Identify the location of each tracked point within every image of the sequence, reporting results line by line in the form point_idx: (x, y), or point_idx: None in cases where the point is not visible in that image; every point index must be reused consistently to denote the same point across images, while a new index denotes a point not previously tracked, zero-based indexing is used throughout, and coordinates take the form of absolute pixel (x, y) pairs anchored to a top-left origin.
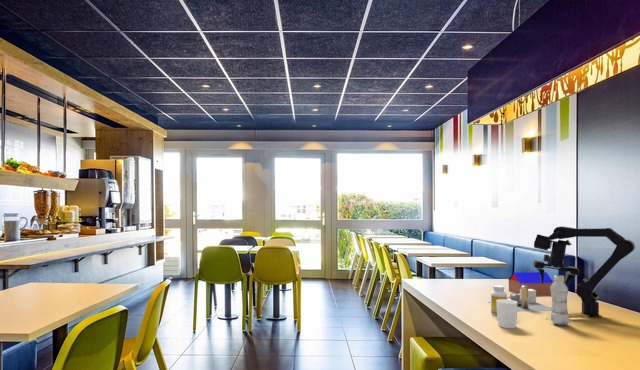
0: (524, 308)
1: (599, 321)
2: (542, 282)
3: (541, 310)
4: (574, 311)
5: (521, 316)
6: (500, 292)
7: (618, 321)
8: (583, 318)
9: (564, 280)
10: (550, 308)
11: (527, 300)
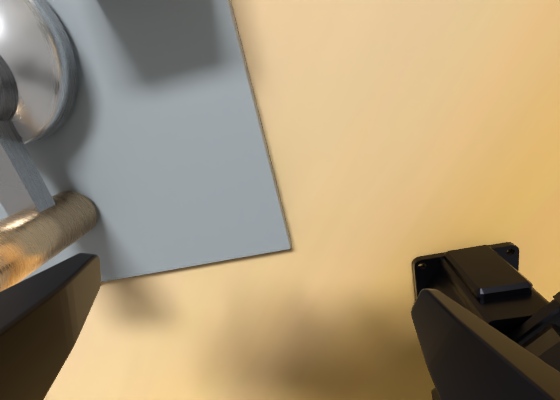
0: None
1: (421, 386)
2: (82, 305)
3: (174, 259)
4: (429, 188)
5: None
6: None
7: None
8: (373, 344)
9: (515, 390)
10: (257, 194)
11: (48, 260)
